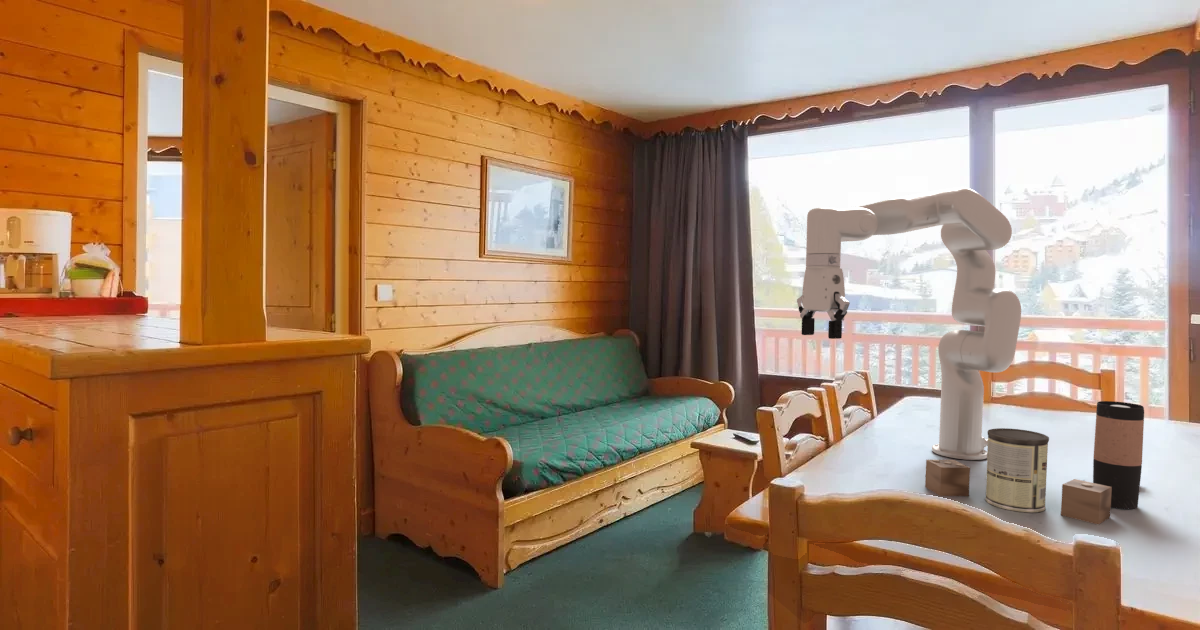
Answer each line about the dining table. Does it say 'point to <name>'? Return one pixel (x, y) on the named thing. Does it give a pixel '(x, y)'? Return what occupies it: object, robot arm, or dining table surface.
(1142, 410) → the travel mug
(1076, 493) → the one-pip block
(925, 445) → the dining table surface
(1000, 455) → the coffee can
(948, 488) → the three-pip block
